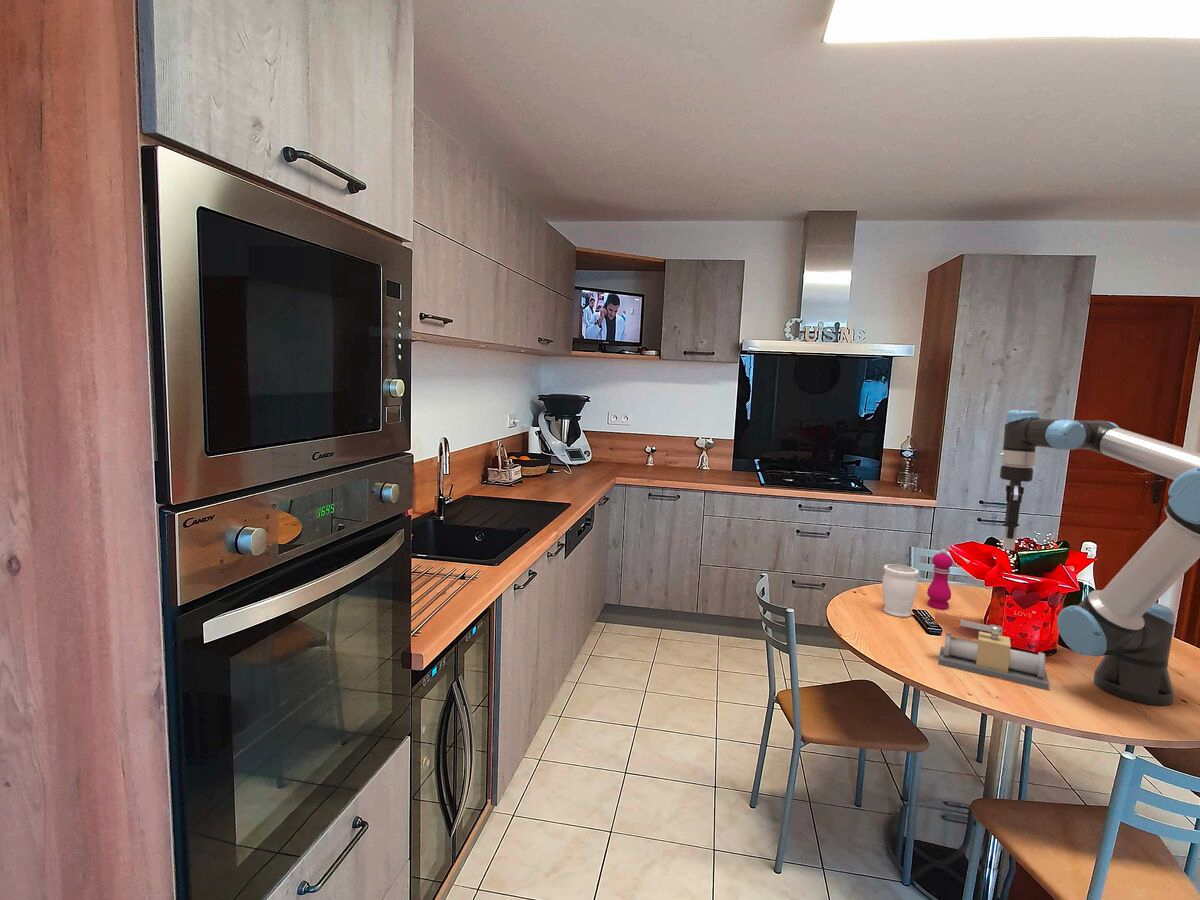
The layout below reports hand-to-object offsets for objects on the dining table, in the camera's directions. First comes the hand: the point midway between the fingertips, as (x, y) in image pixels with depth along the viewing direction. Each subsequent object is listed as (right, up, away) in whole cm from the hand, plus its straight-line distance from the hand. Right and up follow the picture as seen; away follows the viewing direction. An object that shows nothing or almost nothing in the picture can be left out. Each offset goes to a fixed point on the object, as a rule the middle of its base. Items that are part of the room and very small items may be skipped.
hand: (1008, 549), depth 176 cm
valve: (-12, -30, -11) cm, 34 cm away
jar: (-17, -26, +30) cm, 43 cm away
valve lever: (-17, -20, -9) cm, 27 cm away
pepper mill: (0, -26, +38) cm, 46 cm away
